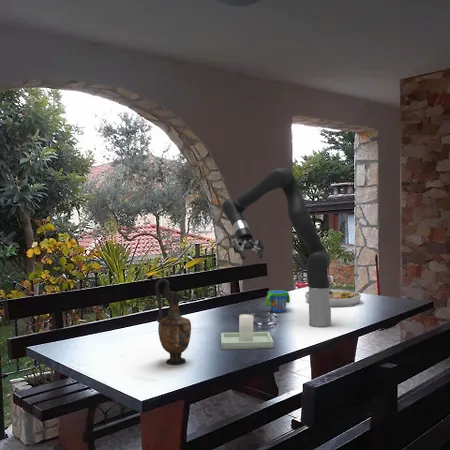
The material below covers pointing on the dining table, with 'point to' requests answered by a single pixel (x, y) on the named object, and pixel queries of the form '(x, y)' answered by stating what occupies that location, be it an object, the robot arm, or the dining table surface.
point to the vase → (172, 326)
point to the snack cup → (277, 300)
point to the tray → (258, 342)
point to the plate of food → (341, 297)
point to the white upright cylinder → (245, 327)
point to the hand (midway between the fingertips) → (252, 258)
